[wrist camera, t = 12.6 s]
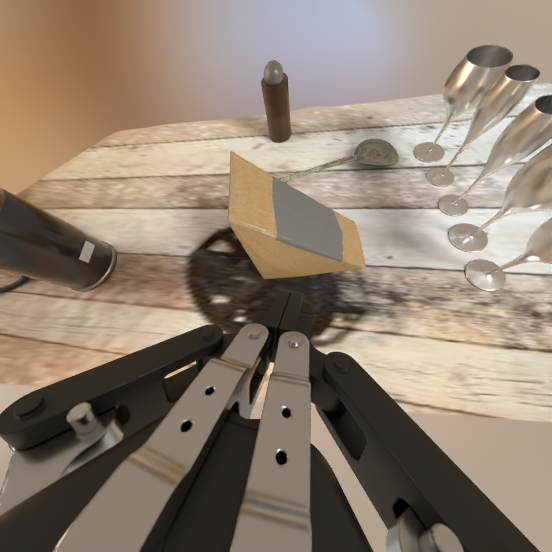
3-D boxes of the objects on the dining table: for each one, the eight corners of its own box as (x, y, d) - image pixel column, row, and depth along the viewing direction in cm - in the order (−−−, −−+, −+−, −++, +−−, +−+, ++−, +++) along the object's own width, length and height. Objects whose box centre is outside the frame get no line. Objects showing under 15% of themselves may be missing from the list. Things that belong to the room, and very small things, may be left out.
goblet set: (517, 290, 25) (728, 232, 12) (467, 294, 25) (620, 242, 13) (440, 138, 35) (515, 22, 22) (406, 143, 35) (460, 33, 23)
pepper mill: (268, 142, 40) (255, 71, 30) (272, 127, 42) (261, 54, 31) (289, 142, 40) (283, 69, 29) (292, 127, 41) (288, 52, 31)
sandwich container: (367, 269, 28) (426, 193, 14) (263, 281, 30) (226, 222, 16) (354, 220, 31) (394, 117, 17) (260, 233, 33) (228, 148, 19)
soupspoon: (402, 170, 34) (386, 146, 37) (413, 151, 31) (394, 127, 34) (280, 199, 35) (273, 174, 37) (278, 183, 32) (270, 157, 34)
